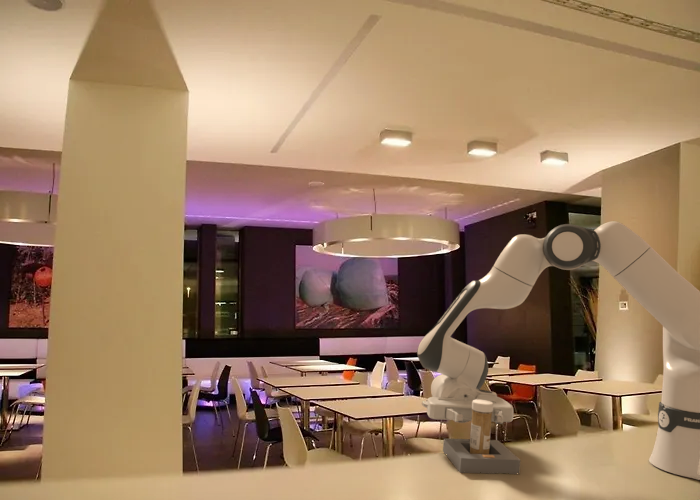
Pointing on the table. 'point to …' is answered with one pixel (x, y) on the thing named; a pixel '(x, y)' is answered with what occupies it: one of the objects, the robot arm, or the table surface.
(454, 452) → the square frame
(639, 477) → the table surface
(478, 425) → the sprinkles bottle
